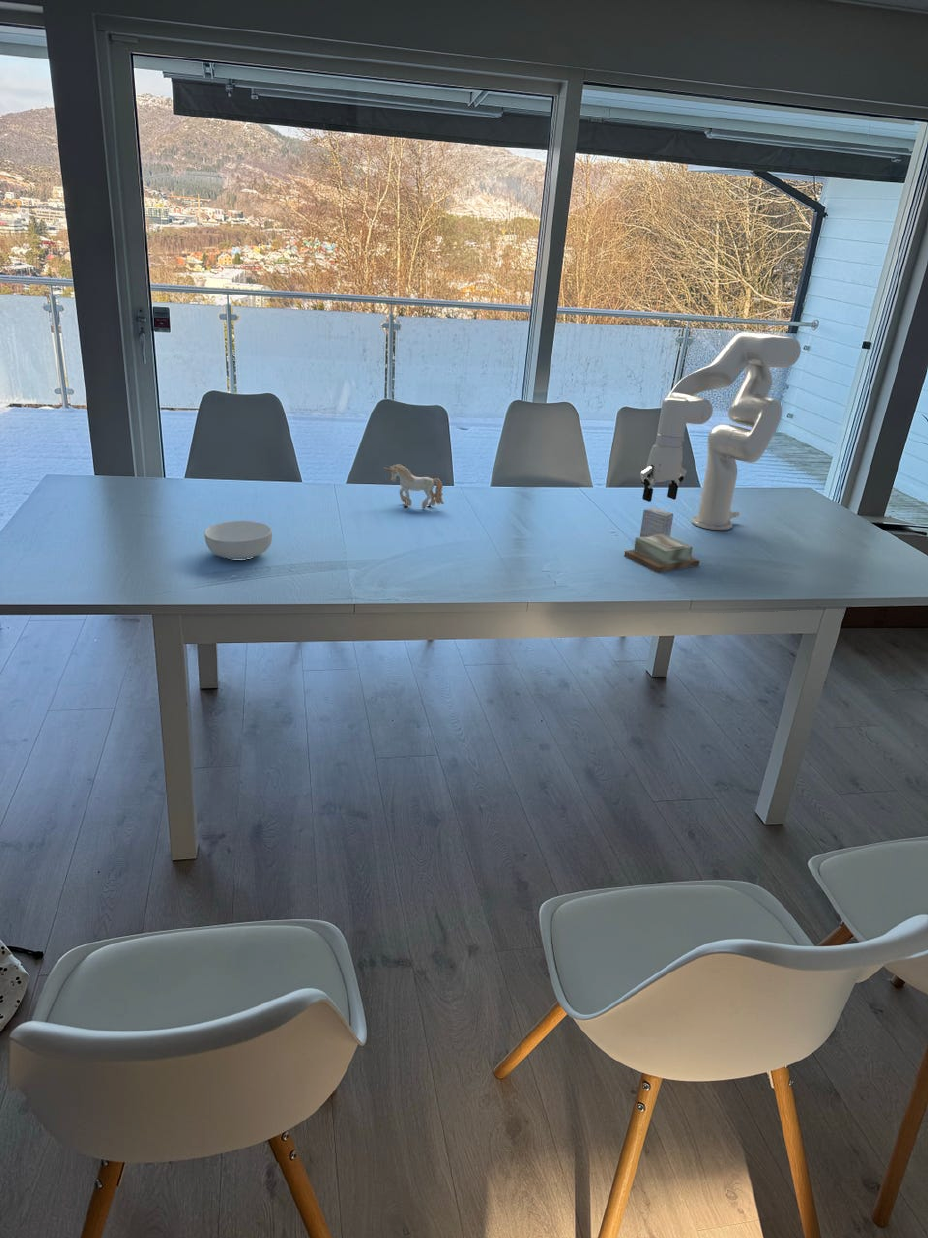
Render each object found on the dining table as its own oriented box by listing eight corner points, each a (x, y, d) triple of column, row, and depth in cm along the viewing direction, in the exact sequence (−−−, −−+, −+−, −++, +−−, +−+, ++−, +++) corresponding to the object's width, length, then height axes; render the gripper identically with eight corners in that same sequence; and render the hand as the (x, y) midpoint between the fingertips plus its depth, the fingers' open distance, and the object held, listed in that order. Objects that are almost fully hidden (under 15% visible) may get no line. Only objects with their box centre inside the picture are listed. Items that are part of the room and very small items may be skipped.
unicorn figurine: (380, 503, 281) (381, 461, 276) (440, 503, 285) (442, 462, 279) (382, 509, 275) (383, 467, 269) (444, 510, 278) (446, 468, 273)
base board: (663, 549, 257) (667, 530, 254) (698, 565, 246) (702, 546, 243) (624, 556, 249) (627, 536, 247) (658, 572, 238) (661, 552, 236)
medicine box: (669, 541, 264) (674, 513, 261) (661, 544, 261) (666, 515, 258) (647, 534, 269) (651, 506, 265) (639, 536, 266) (643, 509, 262)
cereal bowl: (250, 541, 241) (249, 516, 239) (285, 558, 231) (284, 532, 228) (193, 553, 230) (191, 527, 227) (227, 572, 220) (226, 545, 217)
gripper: (682, 437, 260) (671, 494, 267) (637, 439, 251) (628, 497, 258) (700, 443, 254) (689, 500, 261) (655, 445, 246) (645, 505, 252)
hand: (659, 499), depth 260 cm, fingers open, 9 cm apart
